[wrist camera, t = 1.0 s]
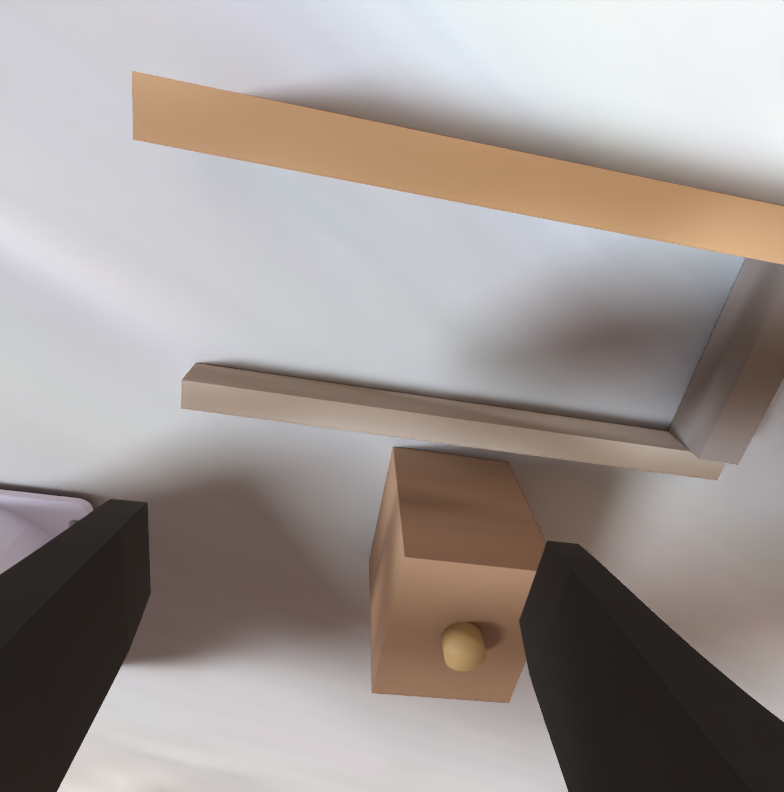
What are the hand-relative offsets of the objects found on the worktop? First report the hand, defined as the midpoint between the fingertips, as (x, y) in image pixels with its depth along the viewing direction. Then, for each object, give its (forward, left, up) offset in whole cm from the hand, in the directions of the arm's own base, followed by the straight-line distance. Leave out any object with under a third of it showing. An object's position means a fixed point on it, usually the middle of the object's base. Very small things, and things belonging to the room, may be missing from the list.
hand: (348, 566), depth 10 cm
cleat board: (+3, -4, -10) cm, 11 cm away
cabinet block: (-6, -4, -10) cm, 12 cm away
